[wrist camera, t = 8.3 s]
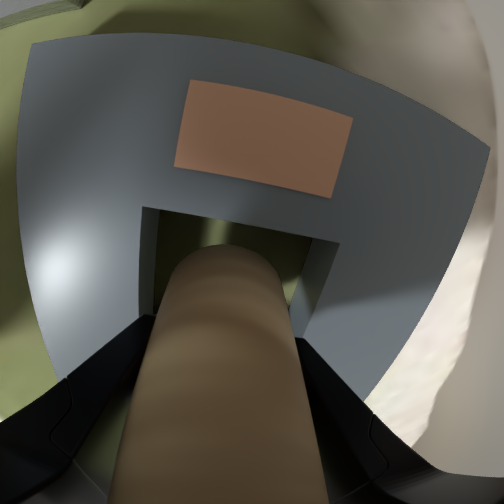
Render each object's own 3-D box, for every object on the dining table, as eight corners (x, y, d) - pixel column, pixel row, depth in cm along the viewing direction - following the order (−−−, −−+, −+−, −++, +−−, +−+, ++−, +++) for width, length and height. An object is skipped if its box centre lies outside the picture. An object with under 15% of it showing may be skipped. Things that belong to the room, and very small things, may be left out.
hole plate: (76, 358, 14) (61, 389, 12) (68, 52, 7) (30, 43, 5) (332, 396, 16) (341, 428, 14) (451, 137, 9) (492, 148, 7)
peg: (165, 329, 11) (123, 537, 3) (172, 234, 9) (73, 511, 2) (266, 344, 11) (291, 549, 4) (296, 256, 9) (382, 521, 2)
